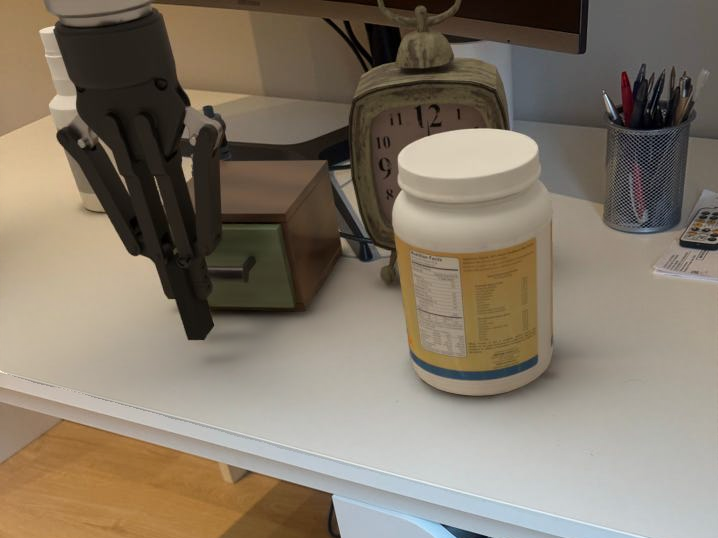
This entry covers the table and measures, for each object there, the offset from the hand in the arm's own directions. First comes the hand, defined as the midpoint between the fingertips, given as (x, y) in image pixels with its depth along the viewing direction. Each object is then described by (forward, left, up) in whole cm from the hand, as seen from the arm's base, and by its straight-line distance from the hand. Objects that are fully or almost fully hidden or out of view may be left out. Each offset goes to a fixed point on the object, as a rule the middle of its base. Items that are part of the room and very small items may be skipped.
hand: (201, 332), depth 79 cm
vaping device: (-9, +29, -3) cm, 31 cm away
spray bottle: (-27, +37, -3) cm, 46 cm away
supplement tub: (+25, 0, -3) cm, 25 cm away
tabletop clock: (+18, +19, -3) cm, 26 cm away
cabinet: (0, +16, -3) cm, 16 cm away
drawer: (0, +13, -2) cm, 13 cm away
